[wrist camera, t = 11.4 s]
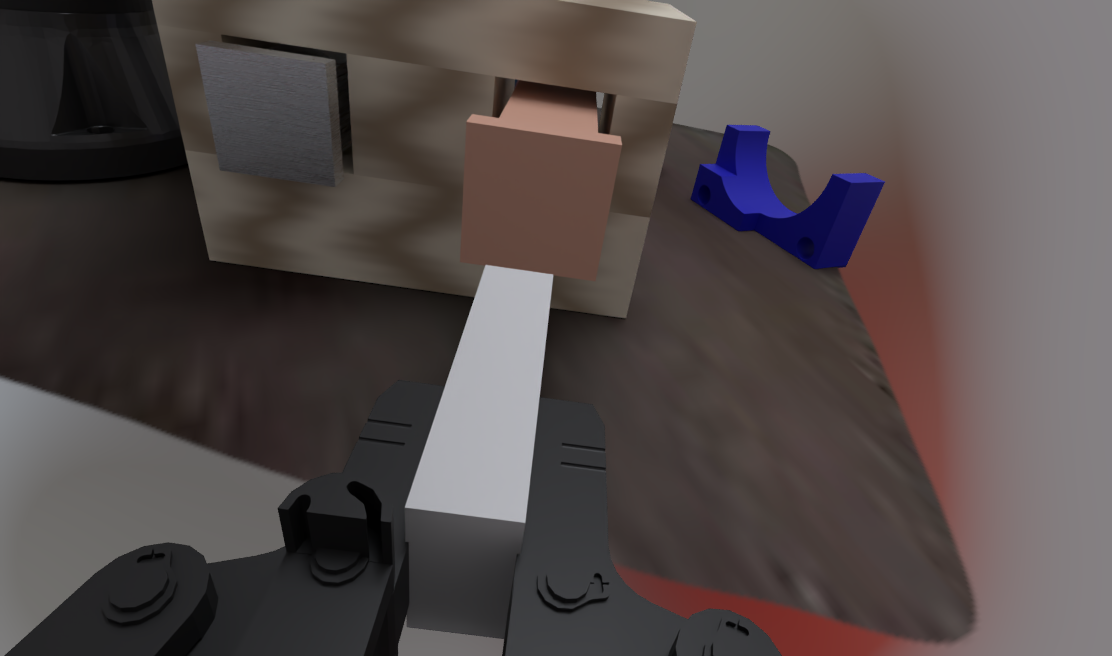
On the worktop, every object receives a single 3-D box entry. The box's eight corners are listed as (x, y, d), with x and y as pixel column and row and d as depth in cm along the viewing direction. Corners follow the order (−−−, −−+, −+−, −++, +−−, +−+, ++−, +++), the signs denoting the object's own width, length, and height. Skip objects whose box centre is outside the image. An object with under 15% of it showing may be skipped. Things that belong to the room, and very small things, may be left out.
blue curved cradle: (690, 201, 46) (711, 124, 43) (734, 199, 48) (757, 125, 44) (796, 272, 37) (833, 183, 34) (845, 267, 39) (884, 181, 36)
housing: (209, 260, 29) (136, -67, 21) (288, 196, 36) (255, -62, 29) (625, 318, 29) (696, 22, 22) (618, 243, 37) (669, 4, 29)
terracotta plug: (459, 262, 20) (466, 121, 17) (504, 156, 31) (512, 58, 28) (595, 281, 20) (622, 145, 18) (593, 169, 31) (609, 73, 28)
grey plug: (219, 170, 24) (195, 44, 21) (332, 104, 34) (324, 13, 32) (335, 187, 24) (325, 63, 21) (412, 116, 35) (411, 27, 32)
